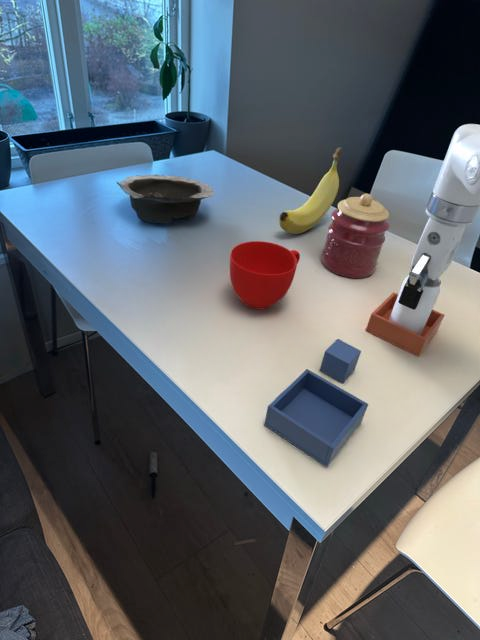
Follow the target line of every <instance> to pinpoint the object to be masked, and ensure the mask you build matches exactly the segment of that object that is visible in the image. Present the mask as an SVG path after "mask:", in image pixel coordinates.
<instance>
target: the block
mask: <svg viewBox="0 0 480 640" xmlns="http://www.w3.org/2000/svg"><path fill="white" fill-rule="evenodd" d="M361 353H362V350H361V349H359V348H356V347H354V346H353V345H351V344H349V343H347V342H345V341H343V340H341V339H340V338H337V339H336V340H335V341H334V342H333V343H332V344H330V346H328V347H327V349H325V351H324V353H323V357H322V359H321V364H320V367H319V372H321V373H323V374H325V375H327V376H328V377H330V378H332V379H333V380H336V381H337V382H339V383H341V384H344V383H345V382H346V380H348V379H349V377H350V376H351V375H352V374H353V373H354V371H355V370H356V368H357V365H358V361H359V359H360V357H361Z"/></svg>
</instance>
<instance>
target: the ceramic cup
mask: <svg viewBox="0 0 480 640" xmlns="http://www.w3.org/2000/svg"><path fill="white" fill-rule="evenodd" d="M300 254H301V253H300V252H299V251H298V250H296V249H292V250H290V249H288V248H287V247H285V246H282V245H280V244H277V243H273V242H270V241H263V240H261V241H259V240H253V241H245V242H241V243H239V244H237V245H236V246H234V247H232V249H231V251H230V253H229V277H230V283H231V287H232V289H233V291H234V293H235V294H236V296H237V297H238V298H239V300H240V301H241V302H242V304H244V305H245V306H246V307H248V308H251V309H255V310H265V309H269V308H271V307H272V306H274V305H275V304H277V303H278V302H279V301H281V300H282V299H283V298H284V297H285V296H286V294H287V293H288V291H289V289H290V288H291V285H292V283H293V281H294V277H295V274H296V271H297V268H298V264H299V261H300V260H301V259H300V258H301V255H300Z"/></svg>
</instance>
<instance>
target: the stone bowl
mask: <svg viewBox="0 0 480 640" xmlns="http://www.w3.org/2000/svg"><path fill="white" fill-rule="evenodd" d="M116 184H117V185H118V186H119V188H120V189H121V190H122V191H123V192H124V193H125V194H126V195H128V196H129V199H130V206H131V208H132V209H133V210H134V212H135V213H136V217H137V218H138V219H139V220H141V221H144V222H147V223H151V224H157V223H160V224H168V223H171V222H172V221H173V220H174V218H175V219H185V220H192V219H194V218H195V217H196V215H197V214H198V211H199V207H200V205H201V201H202V200H204V199H207V198H211V197H213V196H214V195H215V193H214V191H213V188H212V187H211V186H210V185H209V184H207V183H206V182H202V181H200V180H196V179H191V178H187V177H182V176H176V175H164V174H143V175H142V174H139V175H132V176H128V177H126V178H125V179H123V180H121V181H116Z"/></svg>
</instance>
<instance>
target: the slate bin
mask: <svg viewBox="0 0 480 640" xmlns="http://www.w3.org/2000/svg"><path fill="white" fill-rule="evenodd" d="M369 406H370V405H369V403H367V402H366V401H364V400H363V399H360V398H358V397H357V396H355V395H353V394H352V393H350V392H348V391H346V390H345V389H343V388H341V387H339V386H337V385H336V384H335V383H332V382H331V381H329V380H328V379H325V378H324V377H322V376H320V375H319V374H317V373H315V372H314V371H311V370H310V369H309V368H306V369H305V370H304V371H303V372H302V373H301V374H299V376H298V377H296V379H294V380H293V381H292V382H291V384H289V385H288V386H287V387H286V388H285V389H284V390H283V391H281V393H280V394H279V395H278V396H277V397H276V398H275V399H274V400H273V401H271V402H270V404H268V405H267V409H266V413H265V419H264V424H263V426H265V427H266V428H268V429H269V430H271V431H273V432H274V433H275V434H277V435H278V436H279V437H281V438H283V439H284V440H286V441H287V442H289V443H290V444H292V445H293V446H294V447H296V448H297V449H299V450H301V451H302V452H303V453H305V454H307V455H308V456H309V457H311V458H312V459H313V460H315V461H317V462H318V463H320V464H322V466H325V468H329V466H330V465H331V464H332V462H333V460H334V459H335V458H336V457H337V455H338V454H339V453H340V451H341V450H342V449H343V447H344V446H345V445H346V443H347V442H348V441H349V440H350V438H351V437H352V436H353V434H354V433H355V432H356V431H357V429H358V428H359V426H360V425H361V424H362V422H363V419H364V417H365V414H366V412H367V410H368V407H369Z"/></svg>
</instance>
